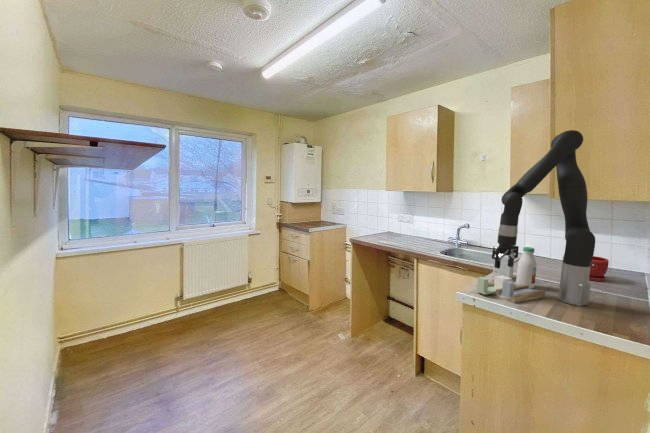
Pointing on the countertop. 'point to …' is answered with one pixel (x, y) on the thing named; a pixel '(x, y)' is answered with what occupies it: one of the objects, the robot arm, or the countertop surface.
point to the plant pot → (598, 268)
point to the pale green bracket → (485, 286)
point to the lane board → (519, 297)
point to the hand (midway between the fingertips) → (503, 267)
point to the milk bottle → (526, 268)
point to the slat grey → (512, 289)
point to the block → (501, 281)
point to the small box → (503, 268)
